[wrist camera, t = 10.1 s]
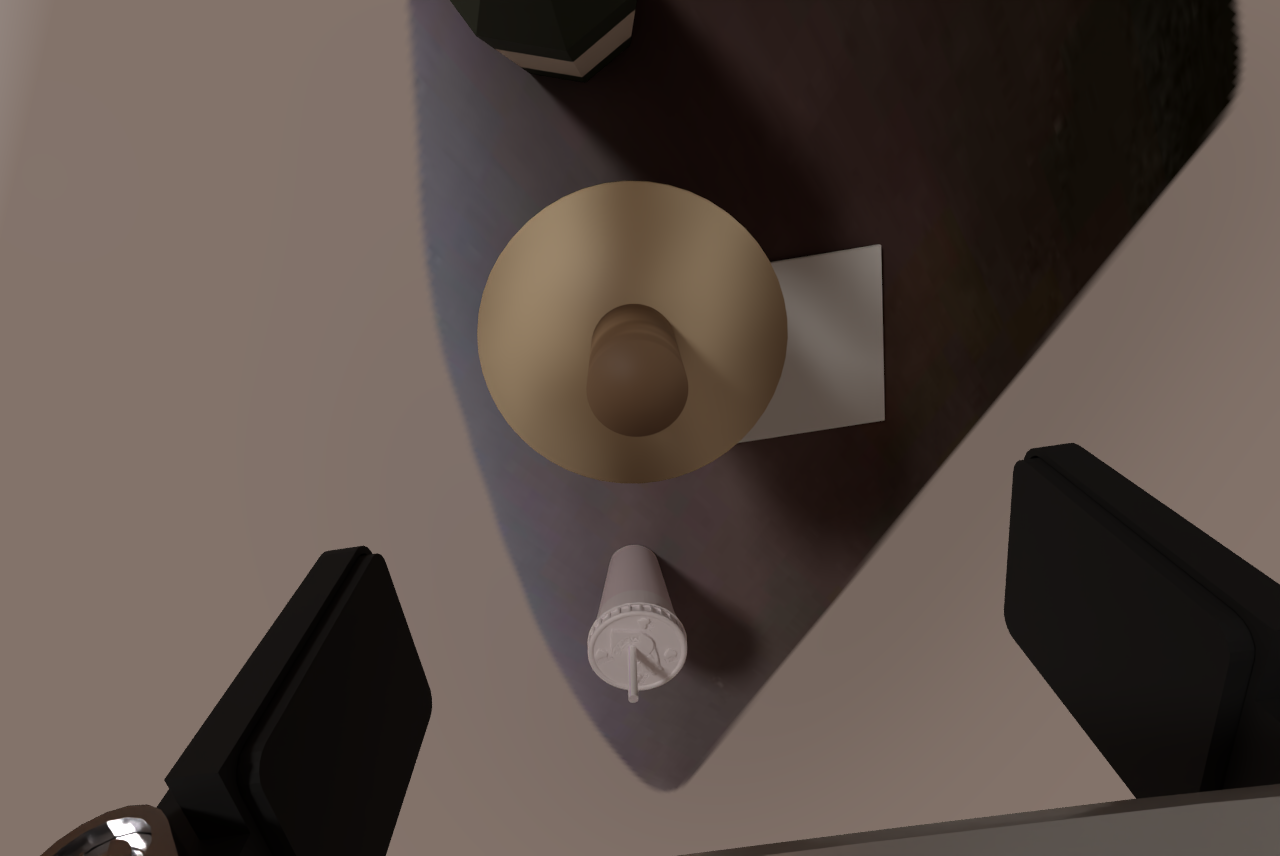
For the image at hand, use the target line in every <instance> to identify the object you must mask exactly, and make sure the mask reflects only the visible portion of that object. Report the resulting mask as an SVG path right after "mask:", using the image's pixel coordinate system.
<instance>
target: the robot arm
mask: <svg viewBox="0 0 1280 856" xmlns="http://www.w3.org/2000/svg"><path fill="white" fill-rule="evenodd" d="M1009 529H1010V530H1009V543H1008V559H1007V574H1006V589H1005V604H1004V616H1005V621H1006V625H1007V628H1008V629H1009V632H1010V634H1011V636H1012V637H1013V639H1014V640H1015V641H1016V643H1017V644H1018V645H1019V646H1020V648H1021V649H1022V650H1023V652H1024V653H1025V654H1026V656H1027V657H1028V658H1029V660H1030V661H1031V662H1032V663H1033V665H1034V666H1035V667H1036V668H1037V670H1038V671H1039V673H1040V674H1041V675H1042V676H1043V677H1044V679H1045V680H1046V682H1047V683H1048V684H1049V685H1050V687H1051V688H1052V689H1053V691H1054V692H1055V693H1056V694H1057V696H1058V697H1059V698H1060V700H1061V701H1062V702H1063V704H1064V705H1065V706H1066V707H1067V709H1068V710H1069V712H1070V713H1071V714H1072V715H1073V717H1074V718H1075V719H1076V721H1077V722H1078V723H1079V725H1080V726H1081V727H1082V728H1083V730H1084V731H1085V732H1086V734H1087V735H1088V736H1089V737H1090V739H1091V740H1092V741H1093V743H1094V744H1095V745H1096V747H1097V748H1098V749H1099V751H1100V752H1101V753H1102V755H1103V756H1104V757H1105V758H1106V760H1107V761H1108V762H1109V764H1110V765H1111V766H1112V768H1113V769H1114V770H1115V771H1116V773H1117V774H1118V775H1119V777H1120V778H1121V779H1122V780H1123V782H1124V783H1125V784H1126V786H1127V787H1128V788H1129V790H1130V791H1131V792H1132V794H1133V795H1134V796H1135V797H1136V799H1131V800H1122V801H1115V802H1106V803H1098V804H1089V805H1081V806H1073V807H1065V808H1056V809H1048V810H1040V811H1032V812H1023V813H1015V814H1007V815H999V816H991V817H982V818H974V819H966V820H958V821H949V822H941V823H934V824H925V825H916V826H908V827H900V828H892V829H884V830H876V831H868V832H860V833H852V834H844V835H836V836H829V837H821V838H813V839H806V840H797V841H789V842H781V843H773V844H765V845H757V846H750V847H742V848H735V849H726V850H718V851H711V852H703V853H695V854H687V855H679V856H1280V584H1278V583H1276V582H1275V581H1274V580H1272V579H1271V578H1269V577H1268V576H1267V575H1265V574H1264V573H1262V572H1261V571H1259V570H1258V569H1256V568H1255V567H1253V566H1252V565H1251V564H1249V563H1248V562H1246V561H1245V560H1243V559H1242V558H1241V557H1239V556H1238V555H1236V554H1235V553H1233V552H1232V551H1231V550H1229V549H1228V548H1226V547H1225V546H1223V545H1222V544H1220V543H1219V542H1217V541H1216V540H1215V539H1213V538H1212V537H1210V536H1209V535H1208V534H1206V533H1205V532H1203V531H1202V530H1200V529H1199V528H1197V527H1196V526H1195V525H1193V524H1192V523H1190V522H1189V521H1187V520H1186V519H1184V518H1183V517H1182V516H1180V515H1179V514H1177V513H1176V512H1174V511H1173V510H1172V509H1170V508H1169V507H1167V506H1166V505H1164V504H1163V503H1161V502H1160V501H1158V500H1157V499H1156V498H1154V497H1153V496H1151V495H1150V494H1148V493H1147V492H1145V491H1144V490H1143V489H1141V488H1140V487H1138V486H1137V485H1135V484H1134V483H1133V482H1131V481H1130V480H1128V479H1127V478H1125V477H1124V476H1123V475H1121V474H1120V473H1118V472H1117V471H1115V470H1114V469H1112V468H1111V467H1110V466H1108V465H1107V464H1105V463H1104V462H1102V461H1101V460H1099V459H1098V458H1097V457H1095V456H1094V455H1092V454H1091V453H1089V452H1088V451H1087V450H1085V449H1084V448H1082V447H1081V446H1079V445H1077V444H1075V443H1068V444H1060V445H1055V446H1048V447H1040V448H1033V449H1030V450H1029V451H1028V452H1027V453H1026V455H1025V458H1024V460H1019V461H1018V462H1017V463H1016V464H1015V466H1014V471H1013V484H1012V499H1011V515H1010V528H1009ZM431 711H432V696H431V691H430V688H429V685H428V682H427V679H426V676H425V673H424V670H423V667H422V665H421V662H420V659H419V656H418V653H417V650H416V647H415V645H414V642H413V639H412V636H411V633H410V630H409V628H408V625H407V622H406V619H405V616H404V613H403V611H402V608H401V605H400V602H399V599H398V596H397V593H396V590H395V588H394V585H393V582H392V579H391V576H390V573H389V571H388V568H387V565H386V562H385V560H384V558H383V557H382V555H380V554H372V552H371V551H370V550H369V549H368V547H365V546H359V547H352V548H345V549H338V550H331V551H326V552H324V553H323V554H322V555H321V556H320V557H319V559H318V560H317V562H316V563H315V565H314V566H313V567H312V569H311V570H310V572H309V574H308V575H307V576H306V578H305V579H304V581H303V582H302V583H301V585H300V586H299V588H298V589H297V590H296V592H295V593H294V595H293V596H292V598H291V599H290V601H289V602H288V603H287V605H286V606H285V608H284V609H283V610H282V612H281V613H280V615H279V616H278V618H277V619H276V621H275V622H274V623H273V625H272V626H271V628H270V629H269V631H268V632H267V633H266V635H265V636H264V638H263V639H262V641H261V642H260V644H259V645H258V646H257V648H256V649H255V651H254V652H253V653H252V655H251V656H250V658H249V659H248V661H247V662H246V664H245V665H244V666H243V668H242V669H241V671H240V672H239V674H238V675H237V676H236V678H235V679H234V681H233V682H232V684H231V685H230V686H229V688H228V689H227V691H226V692H225V694H224V695H223V696H222V698H221V699H220V701H219V702H218V704H217V705H216V706H215V708H214V709H213V711H212V712H211V714H210V715H209V716H208V718H207V719H206V721H205V722H204V724H203V725H202V727H201V728H200V729H199V731H198V732H197V734H196V735H195V736H194V738H193V739H192V741H191V742H190V744H189V745H188V746H187V748H186V749H185V751H184V752H183V754H182V755H181V757H180V758H179V759H178V761H177V762H176V764H175V765H174V767H173V768H172V769H171V771H170V772H169V774H168V775H167V777H166V778H165V782H166V784H167V786H168V787H169V790H168V791H167V793H166V794H165V796H164V798H163V799H162V800H161V802H160V803H159V805H158V806H157V808H155V807H153V806H150V805H133V806H126V807H123V808H119V809H116V810H113V811H109V812H106V813H104V814H102V815H100V816H98V817H96V818H94V819H92V820H90V821H88V822H86V823H84V824H82V825H80V826H79V827H78V828H76V829H74V830H73V831H71V832H70V833H68V834H67V835H65V836H64V837H62V838H61V839H59V840H58V841H57V842H56V843H54V844H53V845H52V846H51V847H50V848H48V849H47V850H46V851H45V852H44V853H43V854H42V855H40V856H386V853H387V850H388V847H389V843H390V840H391V837H392V834H393V831H394V828H395V825H396V822H397V818H398V816H399V812H400V809H401V806H402V803H403V800H404V797H405V794H406V790H407V787H408V784H409V781H410V778H411V775H412V772H413V769H414V766H415V763H416V759H417V757H418V753H419V750H420V747H421V744H422V741H423V738H424V735H425V732H426V729H427V725H428V722H429V719H430V715H431Z"/></svg>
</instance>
